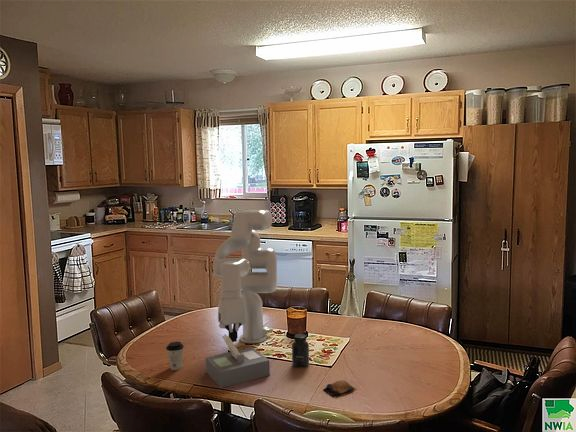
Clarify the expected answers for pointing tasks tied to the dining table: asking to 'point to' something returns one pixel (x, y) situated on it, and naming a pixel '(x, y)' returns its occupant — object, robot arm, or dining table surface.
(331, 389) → the bread roll
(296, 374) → the dining table surface
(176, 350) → the coffee cup
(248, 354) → the switch box
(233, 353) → the switch lever
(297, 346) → the supplement bottle
